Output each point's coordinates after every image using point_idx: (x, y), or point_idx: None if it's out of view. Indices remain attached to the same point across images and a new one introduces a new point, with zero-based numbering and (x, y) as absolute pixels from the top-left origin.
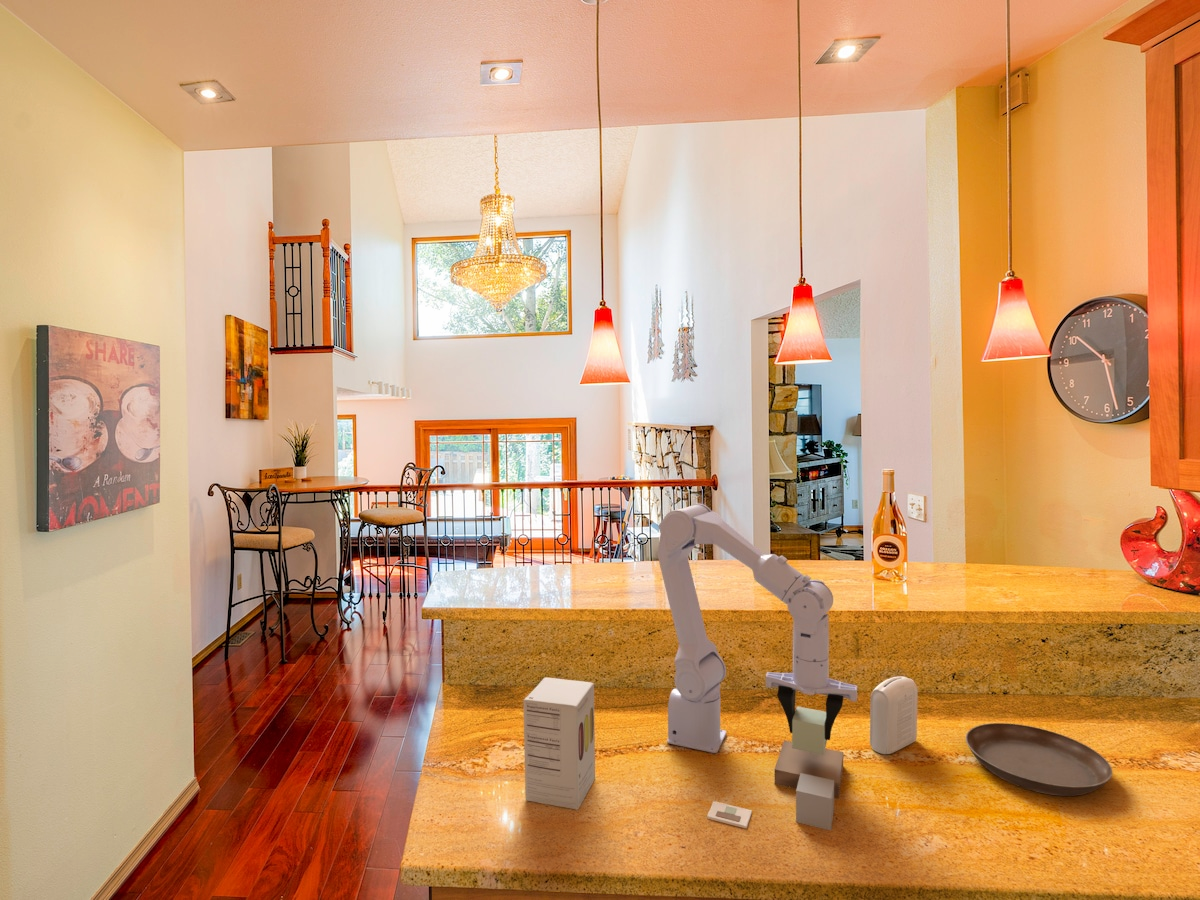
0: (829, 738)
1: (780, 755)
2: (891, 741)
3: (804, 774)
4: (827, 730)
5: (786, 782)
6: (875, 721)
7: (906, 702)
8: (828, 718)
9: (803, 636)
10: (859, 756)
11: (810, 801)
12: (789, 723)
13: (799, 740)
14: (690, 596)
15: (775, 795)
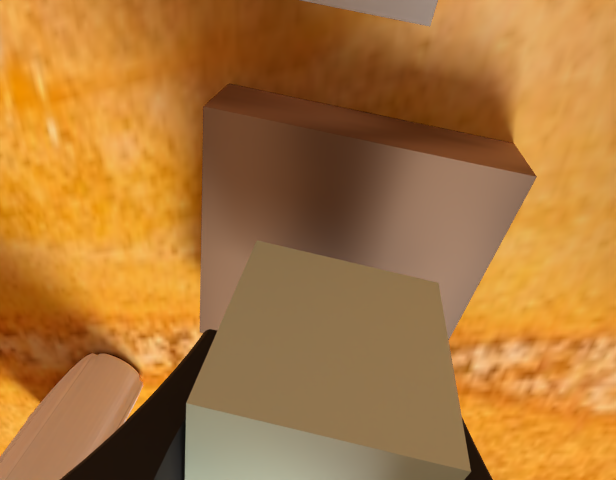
0: (202, 336)
1: (468, 289)
2: (59, 388)
3: (401, 11)
4: (191, 378)
5: (461, 140)
6: (74, 458)
7: None
8: (135, 474)
9: None
10: (172, 341)
11: None
12: (466, 438)
13: (397, 316)
14: None
15: (537, 43)
